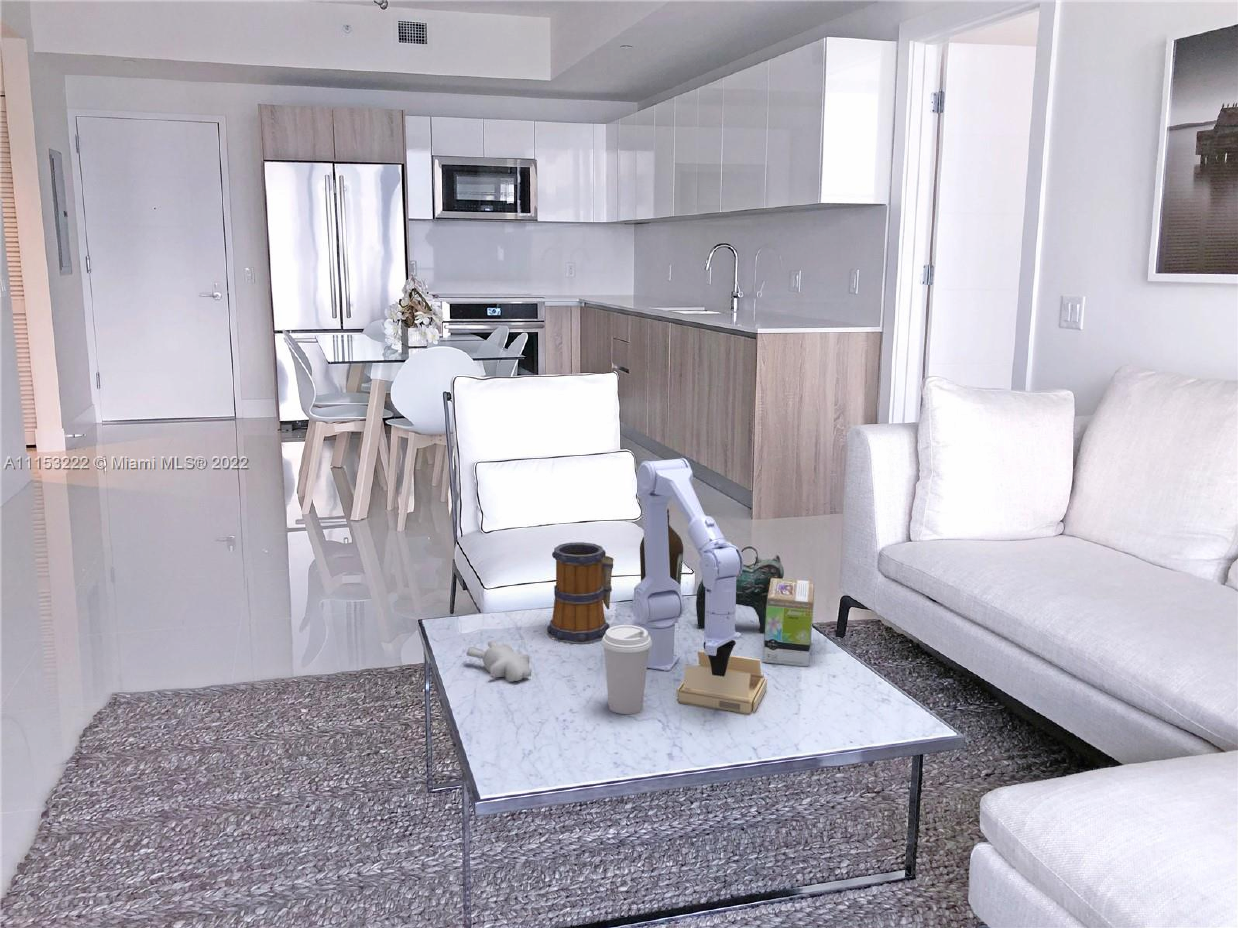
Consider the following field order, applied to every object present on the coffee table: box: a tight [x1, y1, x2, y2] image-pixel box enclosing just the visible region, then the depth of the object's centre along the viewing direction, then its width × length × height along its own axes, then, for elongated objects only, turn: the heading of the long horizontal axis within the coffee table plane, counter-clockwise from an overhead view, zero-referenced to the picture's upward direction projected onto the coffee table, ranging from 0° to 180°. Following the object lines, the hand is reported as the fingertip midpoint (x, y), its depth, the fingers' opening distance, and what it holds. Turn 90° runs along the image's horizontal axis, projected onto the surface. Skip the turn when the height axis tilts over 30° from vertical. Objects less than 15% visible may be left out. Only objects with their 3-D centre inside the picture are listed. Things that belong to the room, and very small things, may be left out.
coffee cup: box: [600, 624, 652, 715], centre depth 188 cm, size 10×10×15 cm
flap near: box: [683, 664, 751, 698], centre depth 190 cm, size 13×1×4 cm, turn 70°
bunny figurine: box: [465, 640, 533, 683], centre depth 205 cm, size 10×5×15 cm
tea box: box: [762, 578, 815, 667], centre depth 217 cm, size 15×10×15 cm
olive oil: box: [639, 508, 684, 586], centre depth 243 cm, size 11×11×25 cm
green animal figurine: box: [695, 546, 785, 634], centre depth 229 cm, size 20×6×20 cm, turn 82°
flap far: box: [697, 650, 762, 675], centre depth 199 cm, size 13×1×4 cm
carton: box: [676, 664, 768, 715], centre depth 195 cm, size 15×13×3 cm
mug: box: [546, 541, 614, 645], centre depth 228 cm, size 19×14×20 cm
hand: (718, 677), depth 190 cm, fingers closed, pressing on flap near
